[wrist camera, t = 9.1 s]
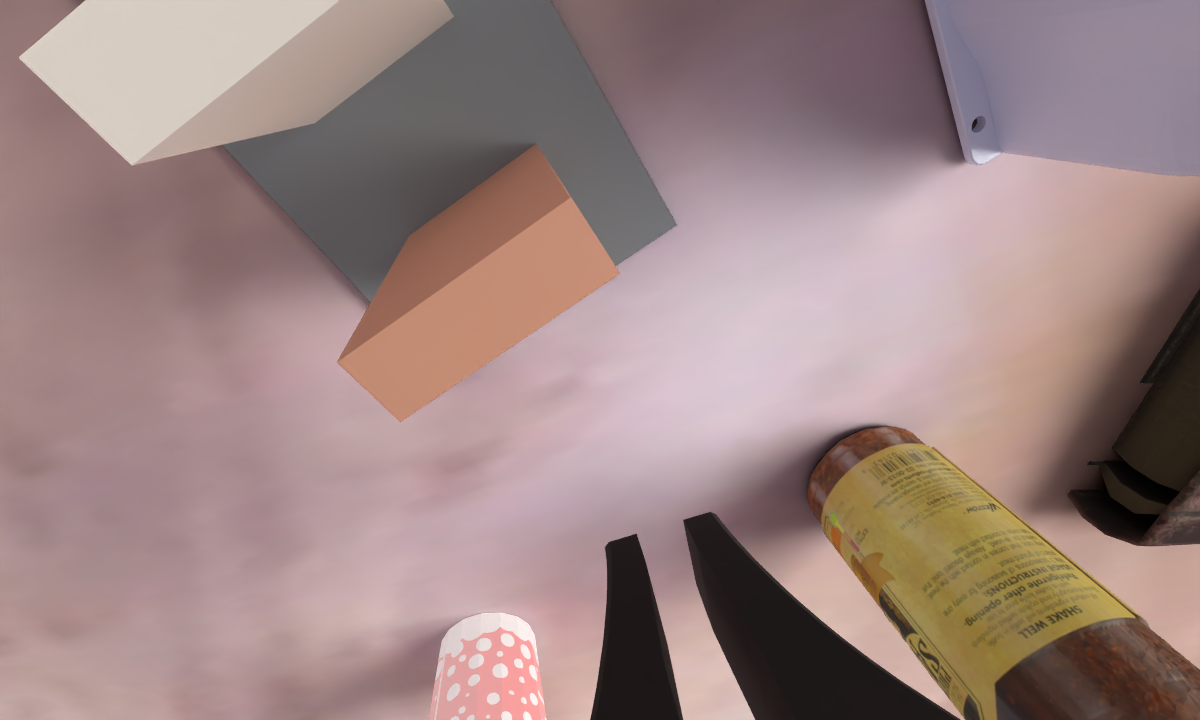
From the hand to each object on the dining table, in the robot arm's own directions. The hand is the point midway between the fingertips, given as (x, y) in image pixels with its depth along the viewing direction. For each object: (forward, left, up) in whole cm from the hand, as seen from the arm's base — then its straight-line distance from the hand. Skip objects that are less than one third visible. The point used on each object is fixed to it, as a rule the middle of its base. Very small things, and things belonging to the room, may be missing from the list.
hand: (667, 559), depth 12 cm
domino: (+12, 0, -10) cm, 16 cm away
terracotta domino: (+7, 0, -10) cm, 12 cm away
